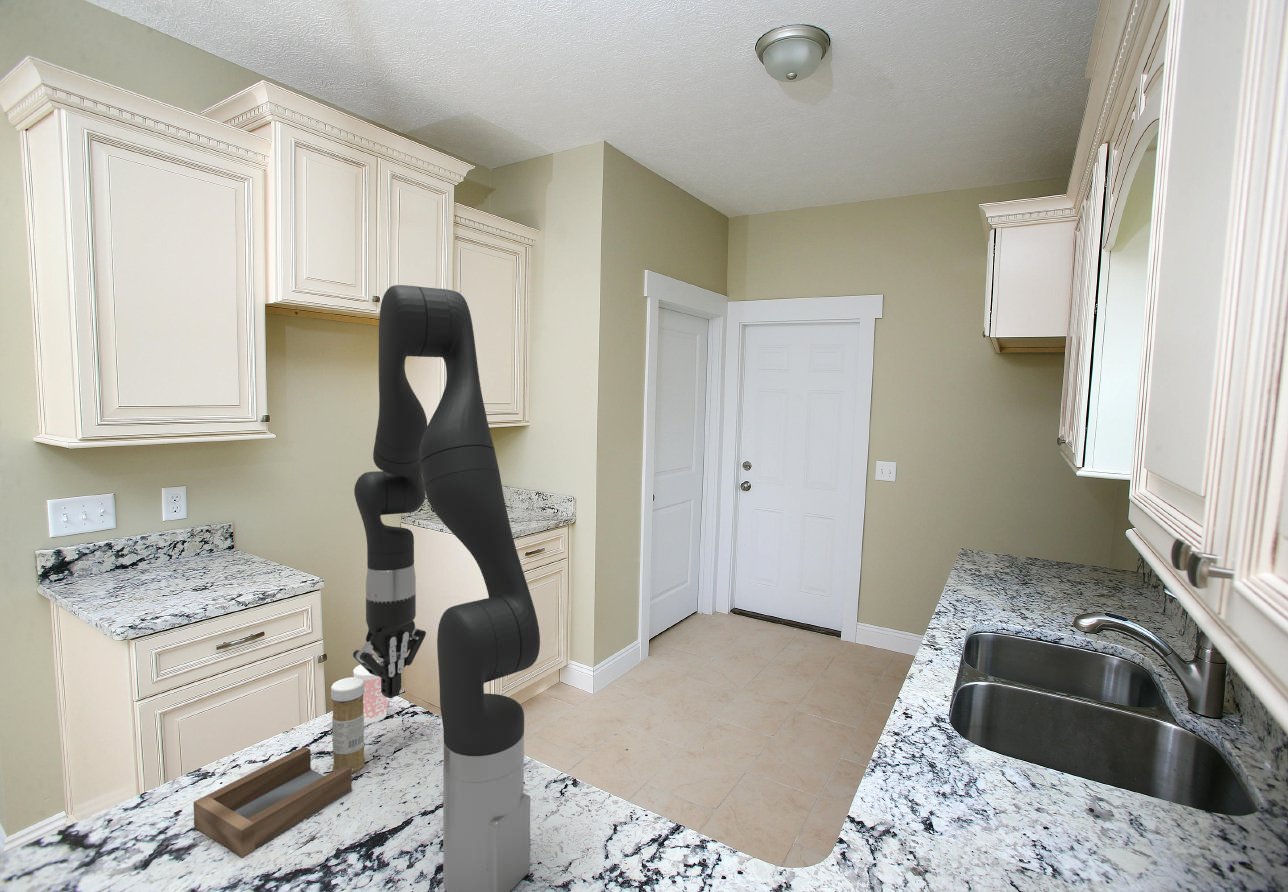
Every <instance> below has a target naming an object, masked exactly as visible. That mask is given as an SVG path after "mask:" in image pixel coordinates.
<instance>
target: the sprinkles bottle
mask: <svg viewBox="0 0 1288 892" xmlns="http://www.w3.org/2000/svg"><path fill="white" fill-rule="evenodd" d="M363 695H364V680H363V679H361V678H358V677H354V676H351V677H345V678H341V679H339V680H337V681H335V682H333V684H332V685H331V687H330V698H331V701H332V716H331V718H332V719H331V720H332V751H333V752H332V756H333V762H332V763H333V765H332V771H334V770H336V769H338V768H340V767H341V766H343V765H347V766H349V767H351V768H352V774H353V773H354V774H355V773H356V772H358V771H359V770H361V769H362V768H363V767H364V766H365V763H366V759H365V723H364V709H363V708H364V707H363Z"/></svg>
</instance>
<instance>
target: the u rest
mask: <svg viewBox="0 0 1288 892" xmlns="http://www.w3.org/2000/svg"><path fill="white" fill-rule="evenodd" d="M311 756H312V755H311V748H308V747H307V746H303V747H302V746H301V748H298V749H296V750H294V751H292V752H290V753H288V754H287V755H284V756H282V757H281V758H278V759H276V760H275V761H272V762H271V763H269V764H266V765H265V766H262V767H260V768H258V769H257V770H255V771H253V772H250V773H248V774H246V775H245V776H242V777H240V778H238V779H237V780H235V781H232V782H231V783H228V784H226V785H225V786H222V787H220V788H218V789H217V790H214V791H213V792H210V793H208V794H206V795H205V796H202V797H200V798H198V799H197V800H194V801H193V827H194V828H195V830H197V831H199V832H201V833H202V834H204V835H205V836H207V837H208V838H210V839H212V840H213V841H214V842H216V843H218V844H219V845H221V846H223V847H224V848H226V849H227V850H229V851H231V852H232V853H234V854H235V855H237V856H238V857H239V858H242V859H243V858H244V857H246V856H248V855H250V854H251V853H253V852H255V850H258V849H260V848H261V847H263V846H264V845H266V844H267V843H270V842H271V841H272V840H274V839H276V838H277V837H279V836H280V835H282V834H284V833H285V832H287V831H290V830H291V828H293V827H295V826H297V825H299V824H300V823H301V822H303V821H305V820H306V819H308V818H310V817H311V816H313V815H315V814H316V813H318V812H319V811H322V810H323V809H325V808H326V807H328V806H330V805H332V804H333V803H335V802H336V801H338V800H340V799H341V798H343V797H345V796H346V795H348V794H349V793H351V792H352V790H353V789H352V787H353V776H352V775H353V773H352V768H351V767H349V766H347V765H343V766H341V767H340V768H338V769H336V770H334V771H333V770H332V771H331V772H329V773H327V774H326V775H323V774H321V773H319V772H317V771H314V770H312V766H311V765H312V764H311V763H312V761H311ZM342 796H343V797H342Z"/></svg>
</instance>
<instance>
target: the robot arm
mask: <svg viewBox="0 0 1288 892" xmlns="http://www.w3.org/2000/svg"><path fill="white" fill-rule="evenodd" d="M379 309H380V310H379V316H378V317H379V319H378V393H379V394H378V395H379V396H378V397H379V398H378V400H379V401H378V404H379V405H378V406H379V407H378V420H377V428H376V431H375V438H374V439H375V440H374V446H373V452H372V456H373V457H372V458H373V463H374V464H375V466H376V467H377V468H378V469H380V471H378V470H377V471H366V472H363V474H361V475H360V476H359V477H358V478H357V480H356V482H355V484H354V490H353V491H354V498H355V502H356V505H357V508H358V510H359V513H360V517H361V520H362V523H363V527H364V531H365V537H366V548H367V551H366V554H367V556H366V557H367V564H366V565H367V569H366V577H365V623H366V625H367V627H368V631H367V634H366V637H365V642H366V643H364V645H363V646H362V648H360V650H359V649H355V650H354V652H353V654H352V657H353V658H354V659H355V661H357V662H358V663H359V665H362V666H363V667H364V668H365V669H366V670H367V671H368V672H369V673H370V674H372V675H375V676H378V677H381V693H382V694H383V695H384V696H385V697H387V699H393V698H396V697H397V696H399V695H400V694H401V692H400V691H401V689H402V673H403V671H404V670H405V667H407V666H411V665H412V664H413V662H414V660H415V657H416V655H417V654H418V652H419V649H420V647H421V646H422V643H423V642H424V639H425V637H426V636H427V632H426V630H423V629H420V628H417V627H416V623H415V621H414V620H415V619H416V616H417V614H416V613H417V611H416V610H417V609H416V608H417V606H416V605H417V602H416V601H417V599H416V598H417V597H416V596H417V595H416V594H417V593H416V592H417V587H416V586H417V583H416V569H415V535H414V533H413V531H412V530H411V529H409V528H405V527H401V526H400V527H399V526H391V525H387V524H385V523H384V522H383V521H382V519H381V517H382V516H385V515H399V514H401V515H402V514H410V513H414V512H417V511H418V510H419V509H420V508H421V507H422V506H423V505H424V503H425V500H426V498H427V501H428V503H429V506H430V508H431V509H432V510H433V512H434V513H435V514H436V516H437V517H438V518H439V519H440V521H441V522H442V523H443V524H444V525H445V527H447V529H448V530H449V531H450V532H451V533H452V534H453V535H454V536H455V537H456V538H457V539H458V540H459V542H460V543H462V544H463V546H464V547H465V548H466V549H467V550H468V552H469V553H470V554H471V556H472V557H473V559H474V561H475V562H476V563H477V566H478V568H479V571H480V572H481V574H482V575H481V576H482V578H483V580H484V581H483V582H484V583H485V586H486V587H485V588H486V590H487V595H488V597H486V598H483V599H477V600H473V601H470V602H469V601H468V602H465V603H460V604H457V605H456V604H455V605H453V606H451V607H449V608H447V609H446V610H445V611H444V612H443V613H442V615H441V617H440V619H439V623H438V627H437V628H438V629H437V638H436V640H437V641H436V644H437V647H436V649H437V664H438V679H439V680H438V682H439V706H440V707H439V709H440V715H441V721H442V728H443V732H442V733H443V739H442V740H443V766H442V767H443V770H442V771H443V772H442V773H443V781H442V782H443V783H442V785H443V787H442V789H443V790H442V792H443V795H442V796H443V797H442V804H443V807H442V810H443V812H442V813H443V814H442V815H443V816H442V817H443V818H442V819H443V824H442V846H443V847H442V851H443V855H442V856H443V857H442V858H443V859H442V860H443V861H442V863H443V864H442V866H443V868H442V869H443V871H442V872H443V873H442V875H443V876H442V877H443V878H442V881H443V887H444V890H445V891H446V892H511V891H512V890H513V889H514V888H515V887H516V886H517V885H518V884H519V883H520V882H521V881H522V880H523V878H525V876H527V875H528V873H529V872H530V871H531V866H530V864H531V861H530V860H531V797H530V795H529V794H527V793H524V786H525V785H524V781H525V780H524V779H525V778H524V775H525V774H524V773H525V772H524V771H525V769H524V768H525V767H524V766H525V764H524V761H525V759H524V757H525V713H524V708H523V706H522V705H521V704H520V703H519V702H518V701H517V700H515V699H513V698H511V697H508V696H506V695H503V694H499V693H498V694H497V693H485V686H484V684H486V683H489V682H491V681H494V680H498V679H501V678H504V677H507V676H510V675H512V674H516V673H518V672H522V671H524V670H527V669H529V668H531V667H533V665H534V664H535V663H536V662H537V660H538V657H539V654H540V650H541V649H540V648H541V638H540V637H541V635H540V627H539V621H538V617H537V613H536V609H535V605H534V602H533V599H532V595H531V592H530V589H529V586H528V582H527V580H526V575H525V573H524V570H523V566H522V563H521V560H520V557H519V554H518V553H519V552H518V550H517V547H516V544H515V539H514V536H513V532H512V528H511V527H512V526H511V523H510V519H509V514H508V509H507V505H506V499H505V495H504V489H503V485H502V479H501V474H500V469H499V468H500V467H499V465H498V464H499V463H498V458H497V455H496V451H495V450H496V449H495V446H494V442H493V438H492V434H491V430H490V426H489V422H488V417H487V412H486V408H485V404H484V403H485V402H484V398H483V395H482V388H481V382H480V375H479V365H478V358H477V357H478V356H477V349H476V340H475V335H474V334H475V333H474V332H475V331H474V327H473V326H474V325H473V320H472V315H471V311H470V308H469V304H468V303H467V300H466V299H465V297H464V295H462V294H461V293H460V292H458V291H457V290H456V291H455V290H452V289H447V288H436V287H426V286H425V287H424V286H415V285H408V284H407V285H405V284H394V285H391V286H390V287H388V288H387V290H386V291H385V292H384V294H383V297H382V300H381V304H380V307H379ZM407 357H414V358H415V357H419V358H422V357H425V358H442V359H443V361H444V363H445V370H446V382H445V388H444V390H443V392H442V395H441V398H440V400H439V403H438V404H437V407H436V409H435V411H434V413H433V415H432V416H431V418H430V419H429V422H428V419H427V415H426V412H425V410H424V408H423V406H422V404H421V402H420V400H419V398H418V396H417V395H416V394H415V392H414V390H413V388H412V386H411V385H410V383H409V381H408V378H407V375H406V369H405V367H406V366H405V365H406V358H407ZM372 649H373V651H374V653H375V654H374V653H373V651H372ZM377 661H378V662H377Z"/></svg>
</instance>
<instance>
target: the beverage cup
mask: <svg viewBox="0 0 1288 892" xmlns="http://www.w3.org/2000/svg"><path fill="white" fill-rule="evenodd" d="M372 651H373V649H372ZM373 653H375V652H374V651H373ZM376 661H377V660H376ZM377 662H378V661H377ZM353 677H358V678H361V679H363V680H364V695H363V707H364V708H363V709H364V724H373V723H377V722H380V721H382V720H384V719H385V718H386V717H387V711H388V698H387V697H385V696H384V695H383V694H382V693H381V677H378V676H375V675H372V674H370V673H369V672H368V671H367V670H366V669H365V668H364V667H363V666H362V665H361V664H359V665H357V666H356V667H354V668H353Z"/></svg>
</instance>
